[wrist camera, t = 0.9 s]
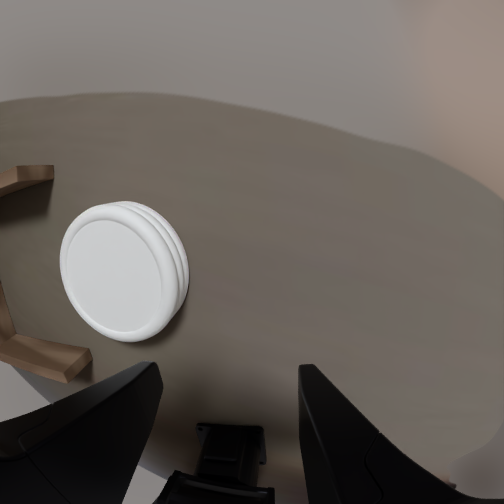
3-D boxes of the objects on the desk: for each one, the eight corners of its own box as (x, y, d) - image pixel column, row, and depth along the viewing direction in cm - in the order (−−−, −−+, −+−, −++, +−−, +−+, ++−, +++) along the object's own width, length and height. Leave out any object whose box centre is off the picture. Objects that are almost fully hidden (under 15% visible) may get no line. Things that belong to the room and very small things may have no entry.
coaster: (66, 241, 21) (39, 250, 18) (147, 174, 19) (123, 174, 16) (124, 339, 23) (104, 359, 20) (216, 294, 21) (204, 315, 17)
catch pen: (92, 358, 24) (67, 383, 19) (14, 341, 25) (-8, 357, 21) (53, 165, 20) (16, 165, 15) (-18, 193, 21) (-46, 198, 17)
